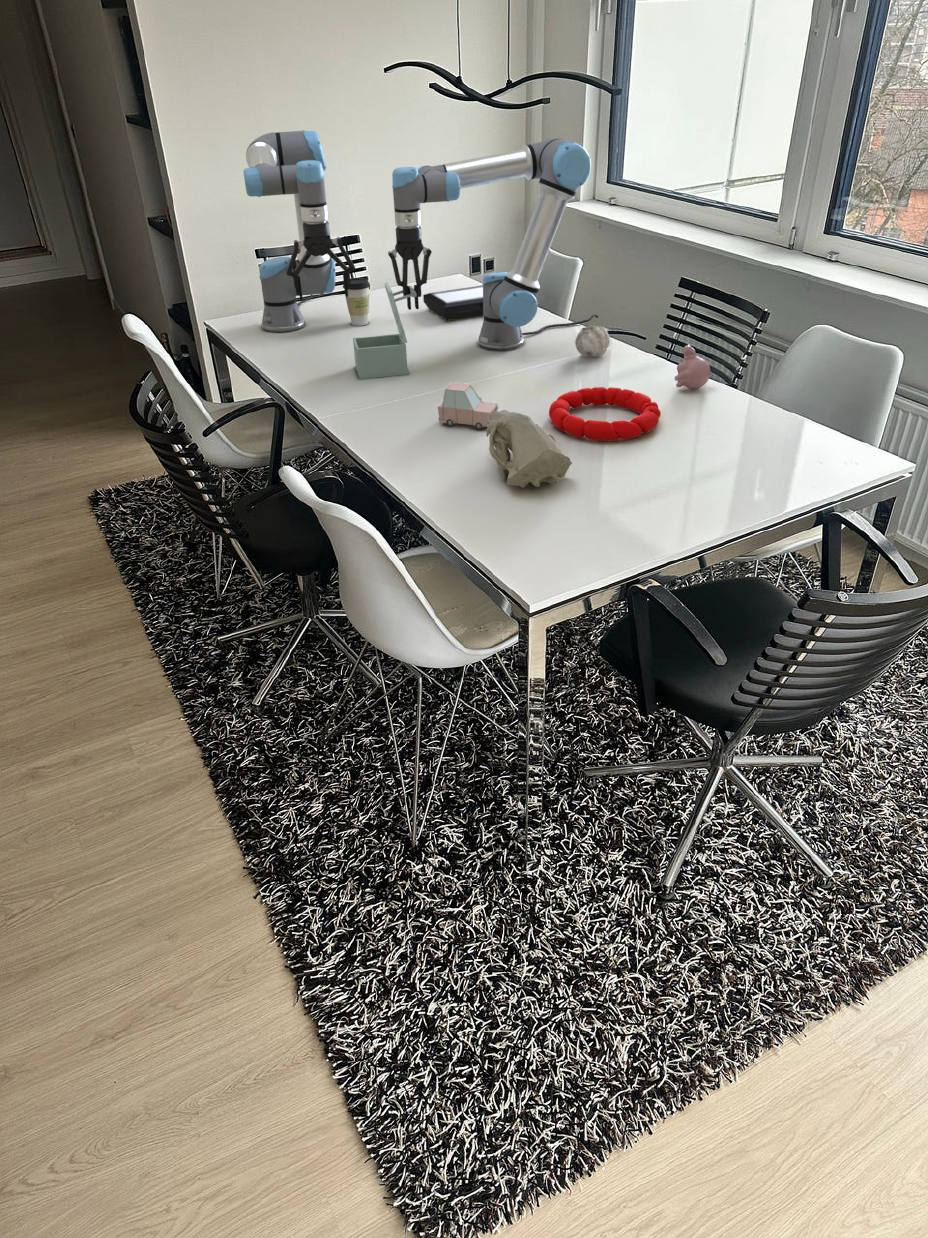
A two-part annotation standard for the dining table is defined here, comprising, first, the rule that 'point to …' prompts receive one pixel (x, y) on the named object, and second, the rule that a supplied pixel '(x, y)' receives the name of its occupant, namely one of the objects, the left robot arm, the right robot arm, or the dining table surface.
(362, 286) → the coffee cup
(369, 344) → the chest
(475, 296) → the electronic device
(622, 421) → the decorative ring
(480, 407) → the toy car
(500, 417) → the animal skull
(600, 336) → the seashell
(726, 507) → the dining table surface
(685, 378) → the figurine
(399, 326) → the lid
